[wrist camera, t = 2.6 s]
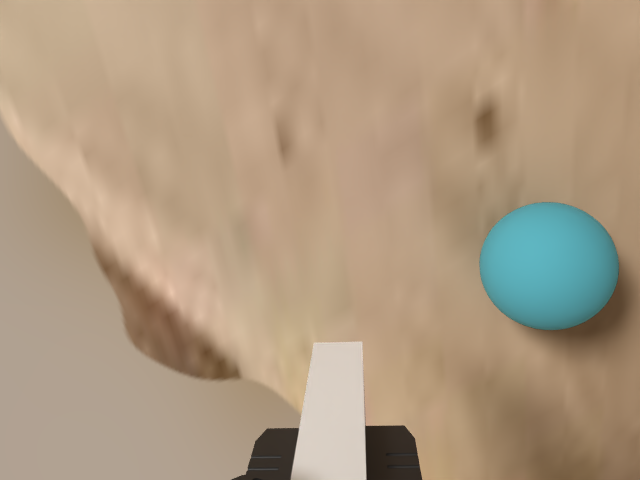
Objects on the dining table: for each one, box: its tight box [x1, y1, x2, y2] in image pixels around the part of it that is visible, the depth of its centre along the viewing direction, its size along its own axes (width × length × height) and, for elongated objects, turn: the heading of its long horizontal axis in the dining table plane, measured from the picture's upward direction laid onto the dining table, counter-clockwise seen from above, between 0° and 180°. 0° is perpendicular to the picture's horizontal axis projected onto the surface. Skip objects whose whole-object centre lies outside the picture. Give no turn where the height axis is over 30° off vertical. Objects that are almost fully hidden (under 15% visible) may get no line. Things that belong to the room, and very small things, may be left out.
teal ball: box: [480, 202, 619, 330], centre depth 25 cm, size 6×6×6 cm
